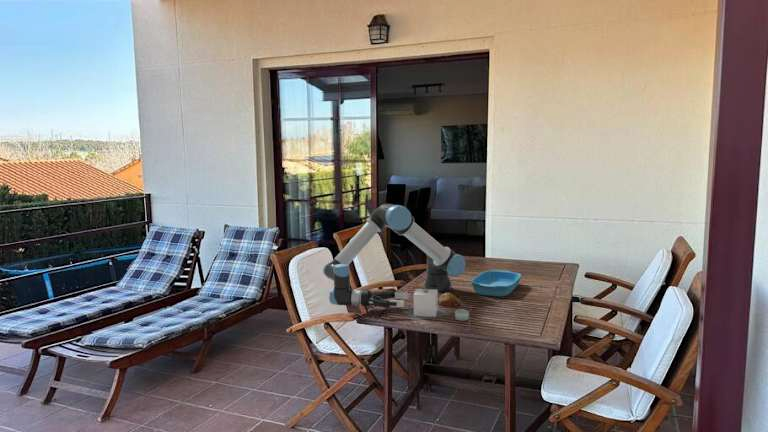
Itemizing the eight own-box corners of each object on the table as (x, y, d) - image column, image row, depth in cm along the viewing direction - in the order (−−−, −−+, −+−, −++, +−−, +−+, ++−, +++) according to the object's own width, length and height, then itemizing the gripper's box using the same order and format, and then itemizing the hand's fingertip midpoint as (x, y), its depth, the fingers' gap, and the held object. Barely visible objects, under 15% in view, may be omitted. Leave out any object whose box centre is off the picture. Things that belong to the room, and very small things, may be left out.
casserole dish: (508, 300, 258) (508, 286, 257) (466, 295, 268) (466, 282, 267) (524, 284, 290) (524, 272, 289) (486, 280, 300) (486, 268, 300)
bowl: (463, 317, 231) (463, 308, 230) (471, 321, 225) (471, 312, 225) (452, 319, 228) (452, 310, 228) (459, 323, 223) (459, 313, 222)
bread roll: (448, 308, 257) (442, 293, 258) (464, 303, 250) (458, 288, 252) (437, 313, 249) (431, 298, 250) (454, 308, 243) (448, 292, 244)
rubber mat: (435, 307, 246) (435, 306, 246) (450, 315, 234) (450, 314, 234) (401, 312, 239) (401, 311, 239) (415, 321, 226) (415, 320, 226)
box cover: (416, 309, 242) (416, 286, 241) (437, 310, 240) (437, 287, 239) (413, 315, 232) (413, 291, 231) (435, 316, 231) (435, 292, 229)
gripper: (368, 298, 254) (410, 300, 250) (355, 313, 230) (402, 315, 226) (367, 283, 253) (410, 285, 249) (355, 297, 229) (401, 299, 225)
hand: (406, 299), depth 237 cm, fingers open, 13 cm apart
